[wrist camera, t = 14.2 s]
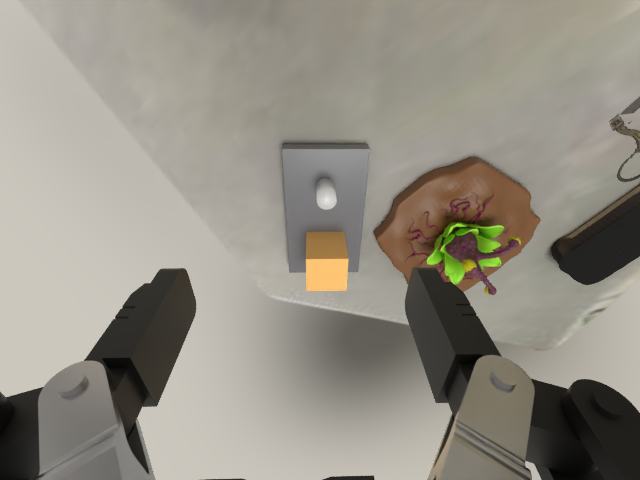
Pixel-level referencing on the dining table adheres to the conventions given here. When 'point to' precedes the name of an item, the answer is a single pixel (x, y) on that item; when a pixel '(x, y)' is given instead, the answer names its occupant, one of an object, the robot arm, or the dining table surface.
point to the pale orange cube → (326, 261)
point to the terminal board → (306, 196)
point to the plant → (458, 223)
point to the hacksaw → (627, 132)
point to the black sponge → (602, 242)
